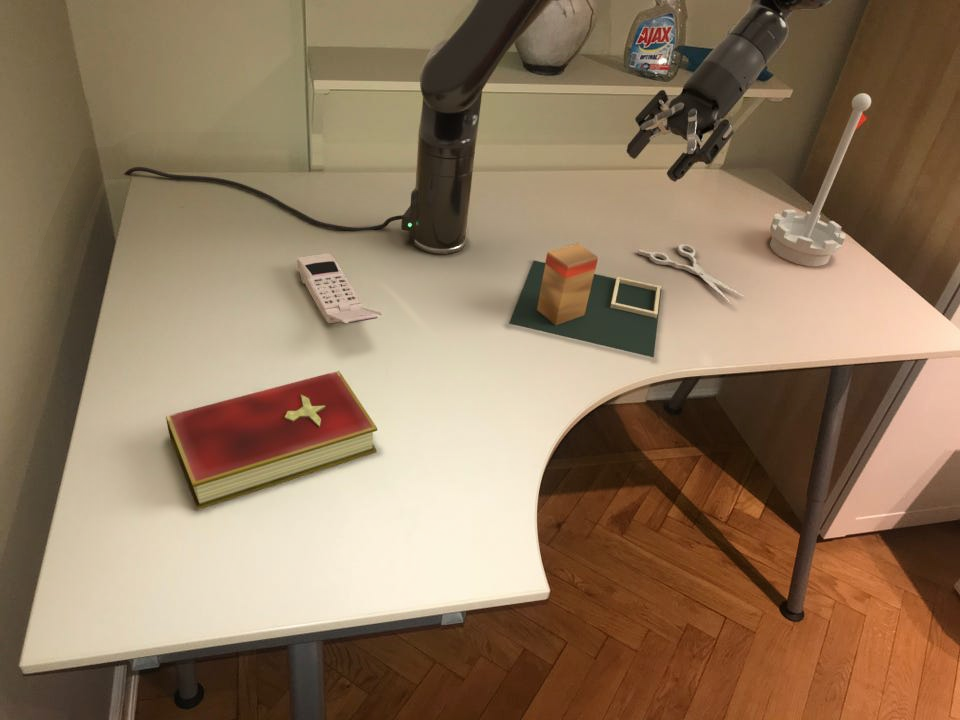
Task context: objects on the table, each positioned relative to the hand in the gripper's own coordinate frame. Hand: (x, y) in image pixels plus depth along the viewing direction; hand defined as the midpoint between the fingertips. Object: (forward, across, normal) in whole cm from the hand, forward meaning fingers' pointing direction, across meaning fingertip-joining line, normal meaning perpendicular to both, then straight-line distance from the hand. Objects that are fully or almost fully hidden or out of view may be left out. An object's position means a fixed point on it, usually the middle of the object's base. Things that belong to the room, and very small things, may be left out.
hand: (649, 166), depth 111 cm
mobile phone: (+45, -17, -16) cm, 51 cm away
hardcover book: (+59, +7, -29) cm, 66 cm away
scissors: (+4, +1, +29) cm, 29 cm away
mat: (+21, 0, +11) cm, 24 cm away
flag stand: (-13, +3, +48) cm, 50 cm away
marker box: (+24, 0, +6) cm, 25 cm away
